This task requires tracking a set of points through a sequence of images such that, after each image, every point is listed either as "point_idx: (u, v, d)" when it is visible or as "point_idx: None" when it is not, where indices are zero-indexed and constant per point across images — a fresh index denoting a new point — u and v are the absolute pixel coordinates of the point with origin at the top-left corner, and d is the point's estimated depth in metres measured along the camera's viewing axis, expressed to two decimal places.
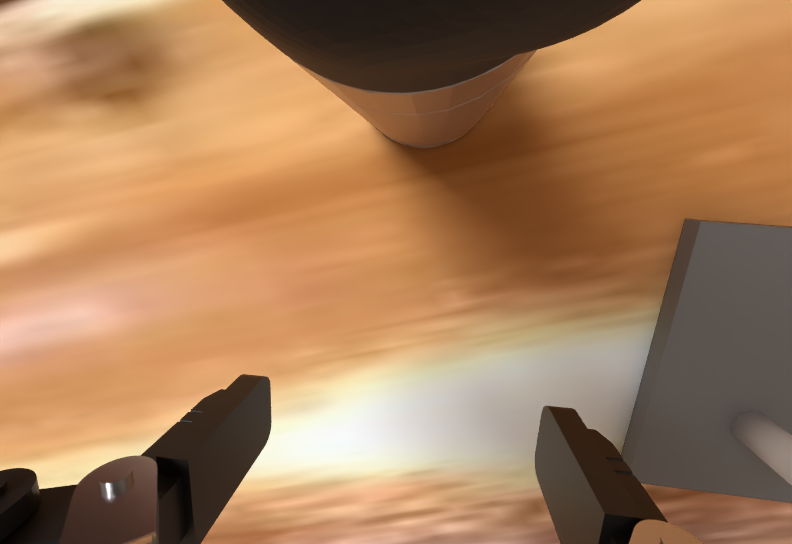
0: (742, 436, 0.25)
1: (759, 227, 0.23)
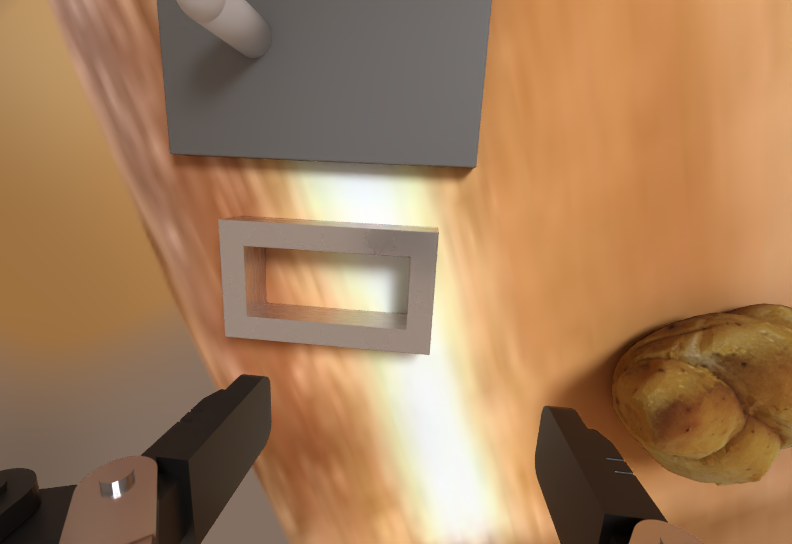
0: None
1: None
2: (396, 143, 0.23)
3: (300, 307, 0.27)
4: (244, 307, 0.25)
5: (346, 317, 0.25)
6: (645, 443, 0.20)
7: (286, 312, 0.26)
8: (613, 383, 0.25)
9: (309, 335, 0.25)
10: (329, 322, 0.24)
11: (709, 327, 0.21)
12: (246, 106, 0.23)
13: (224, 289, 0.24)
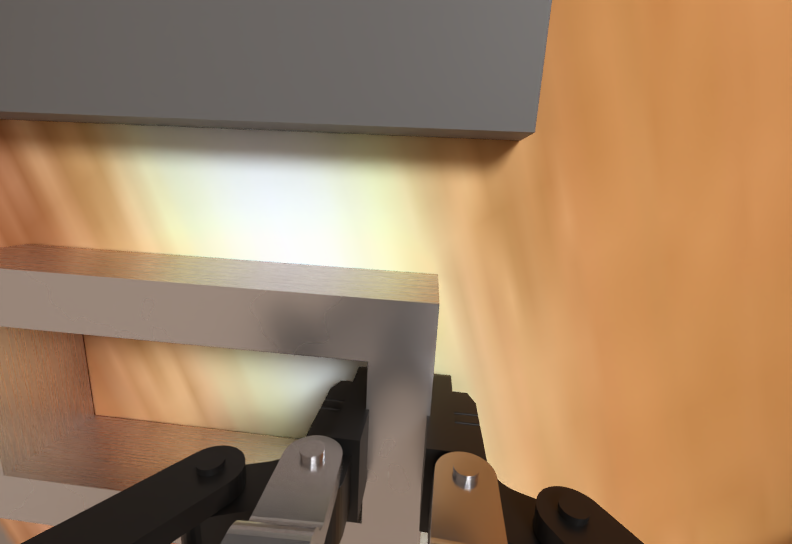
0: None
1: None
2: (332, 72, 0.09)
3: (155, 430, 0.13)
4: None
5: None
6: None
7: (111, 453, 0.12)
8: None
9: None
10: None
11: None
12: None
13: None
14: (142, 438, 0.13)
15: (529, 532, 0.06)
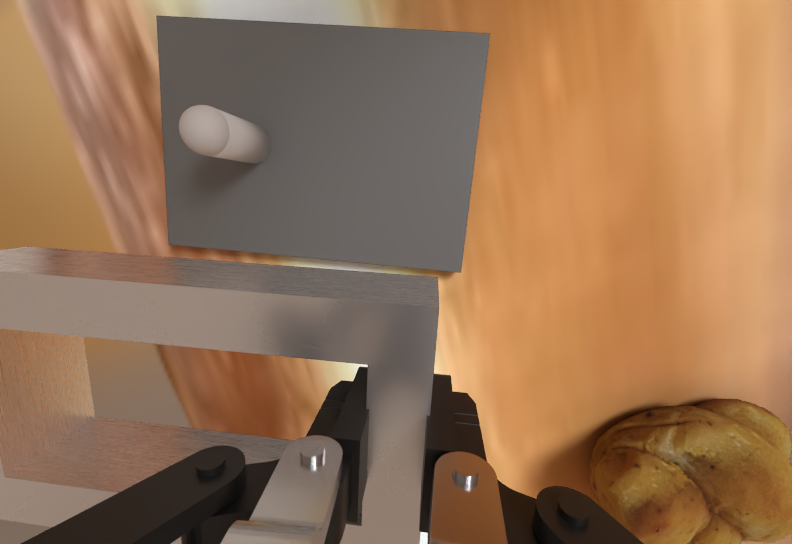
0: None
1: (480, 97, 0.22)
2: (386, 247, 0.24)
3: (156, 432, 0.13)
4: None
5: None
6: None
7: (112, 454, 0.12)
8: (591, 461, 0.26)
9: None
10: None
11: (683, 423, 0.23)
12: (244, 206, 0.24)
13: None
14: (143, 440, 0.13)
15: (529, 532, 0.06)
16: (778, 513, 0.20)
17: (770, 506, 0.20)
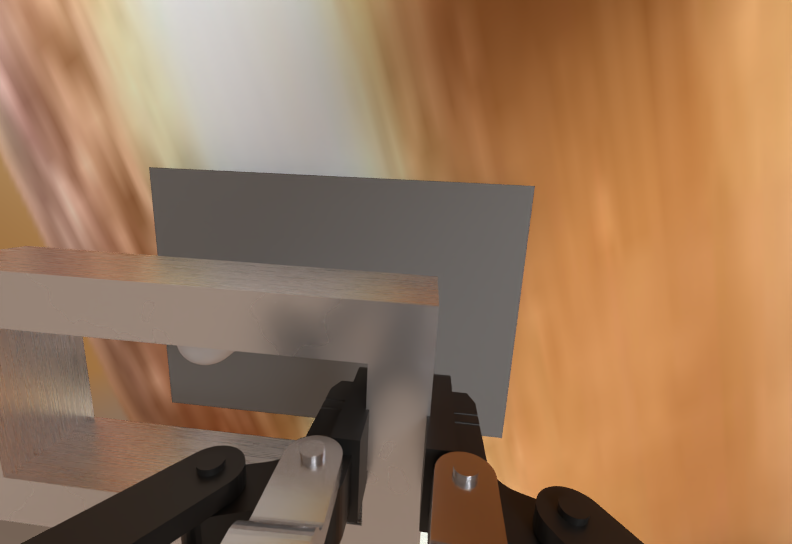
0: None
1: (523, 255, 0.19)
2: None
3: (155, 432, 0.13)
4: None
5: None
6: None
7: (111, 455, 0.12)
8: None
9: None
10: None
11: None
12: (254, 365, 0.21)
13: None
14: (142, 440, 0.13)
15: (529, 532, 0.06)
16: None
17: None
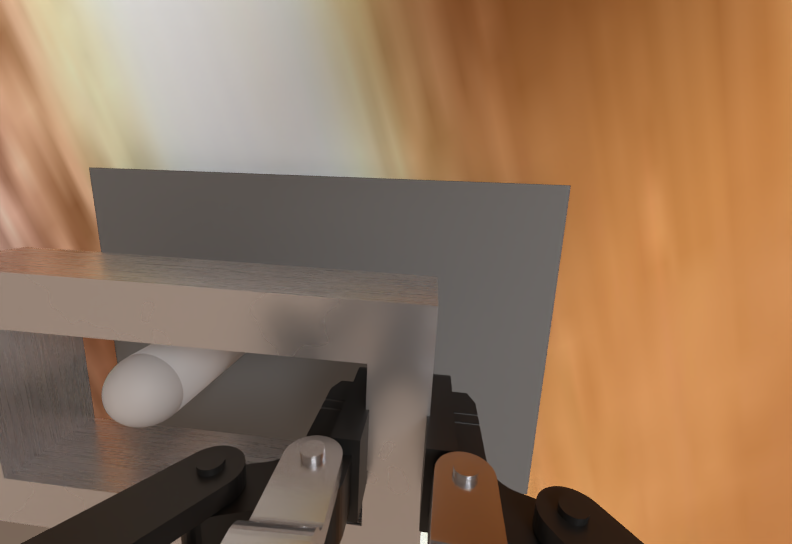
0: None
1: (556, 273, 0.15)
2: None
3: (155, 432, 0.13)
4: None
5: None
6: None
7: (111, 455, 0.12)
8: None
9: None
10: None
11: None
12: (225, 406, 0.18)
13: None
14: (142, 440, 0.13)
15: (529, 532, 0.06)
16: None
17: None
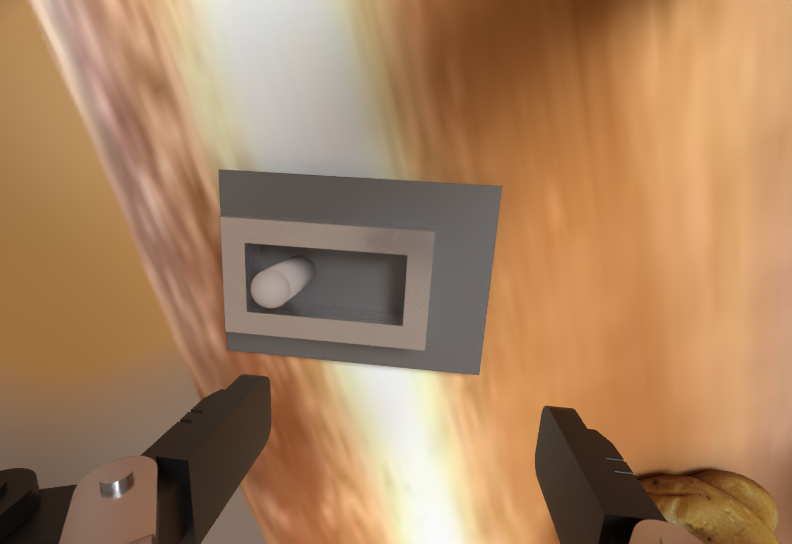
0: (291, 257, 0.26)
1: (494, 236, 0.25)
2: (414, 354, 0.28)
3: (299, 304, 0.28)
4: (244, 303, 0.25)
5: (344, 313, 0.26)
6: None
7: (285, 308, 0.26)
8: None
9: (308, 331, 0.25)
10: (327, 318, 0.25)
11: (685, 495, 0.26)
12: None
13: (225, 285, 0.25)
14: (295, 305, 0.27)
15: None
16: None
17: None
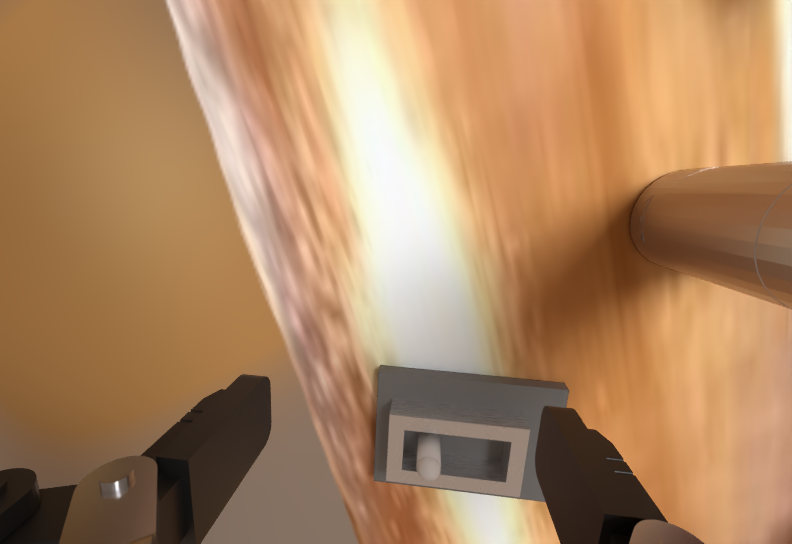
0: None
1: None
2: None
3: None
4: (400, 464, 0.39)
5: (463, 467, 0.39)
6: None
7: None
8: None
9: (442, 482, 0.39)
10: (455, 475, 0.38)
11: None
12: None
13: (388, 454, 0.38)
14: None
15: None
16: None
17: None
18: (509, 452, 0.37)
